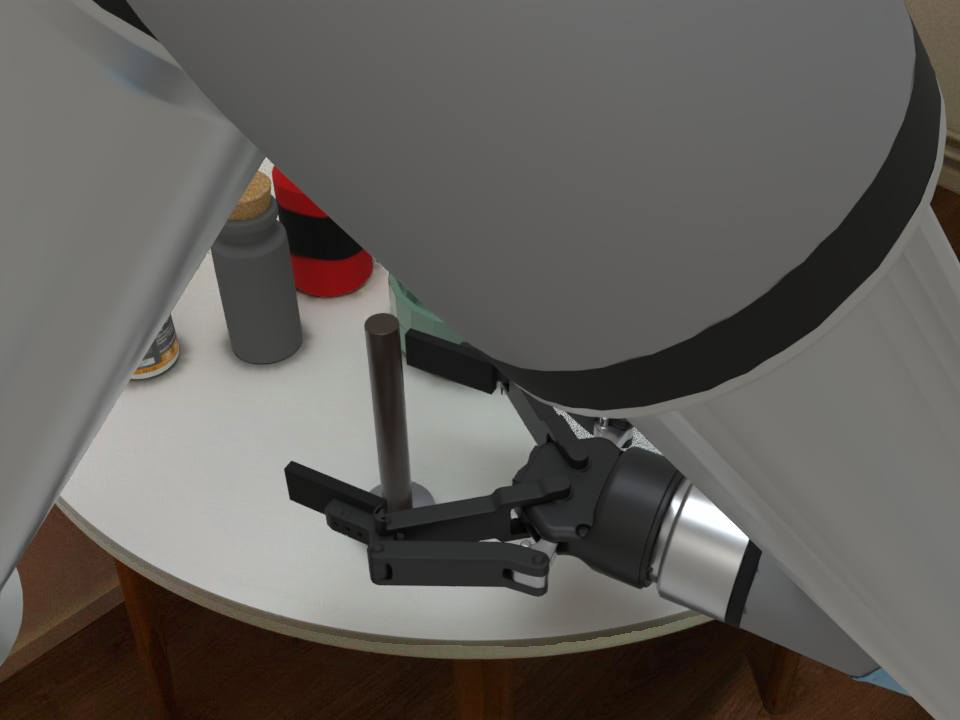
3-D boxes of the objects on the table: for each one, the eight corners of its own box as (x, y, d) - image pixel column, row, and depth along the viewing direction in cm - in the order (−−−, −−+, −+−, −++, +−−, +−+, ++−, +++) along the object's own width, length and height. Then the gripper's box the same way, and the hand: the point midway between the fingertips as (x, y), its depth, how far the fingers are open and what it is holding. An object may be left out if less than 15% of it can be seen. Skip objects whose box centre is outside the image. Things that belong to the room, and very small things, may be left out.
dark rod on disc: (388, 568, 69) (367, 364, 58) (349, 520, 72) (321, 317, 61) (450, 532, 72) (442, 328, 60) (409, 488, 75) (394, 286, 63)
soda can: (328, 310, 90) (313, 189, 82) (270, 275, 94) (249, 157, 86) (391, 269, 94) (381, 151, 86) (332, 238, 98) (318, 122, 90)
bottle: (309, 320, 89) (287, 165, 79) (293, 366, 84) (267, 209, 75) (242, 316, 89) (210, 162, 79) (222, 362, 85) (187, 205, 75)
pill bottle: (184, 373, 84) (158, 273, 77) (110, 389, 83) (77, 288, 76) (177, 330, 88) (151, 231, 81) (106, 344, 87) (74, 245, 80)
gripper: (579, 749, 53) (241, 589, 61) (730, 435, 70) (450, 340, 77) (588, 666, 48) (219, 503, 56) (749, 349, 65) (447, 257, 72)
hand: (352, 408), depth 66 cm, fingers open, 13 cm apart
